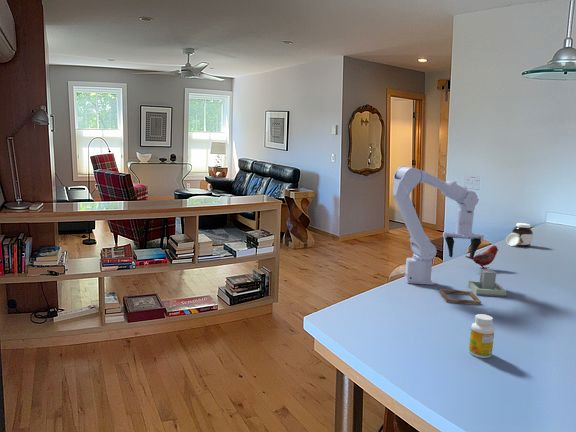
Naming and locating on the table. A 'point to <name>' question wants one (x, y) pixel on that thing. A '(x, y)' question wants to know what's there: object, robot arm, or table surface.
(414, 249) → the robot arm
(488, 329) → the supplement bottle
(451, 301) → the walnut frame
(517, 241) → the spread jar
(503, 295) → the sage tray
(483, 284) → the stone block
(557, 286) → the table surface
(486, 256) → the decorative bird figurine
